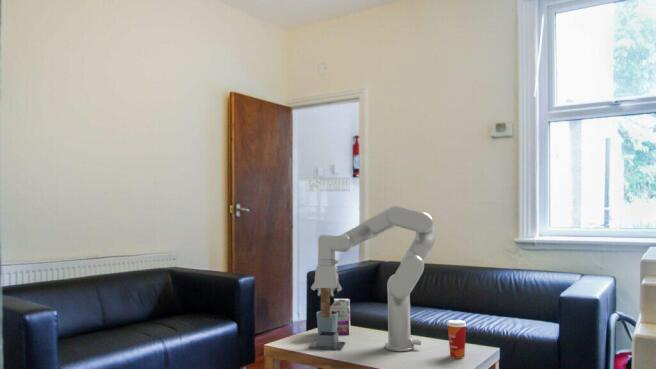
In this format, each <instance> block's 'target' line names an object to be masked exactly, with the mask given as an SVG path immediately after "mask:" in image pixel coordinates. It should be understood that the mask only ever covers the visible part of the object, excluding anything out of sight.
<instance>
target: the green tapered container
mask: <svg viewBox="0 0 656 369" xmlns="http://www.w3.org/2000/svg"><path fill="white" fill-rule="evenodd" d="M337 321H338V312H336V311H332V316H331V317H330V318H324V317H321V310H320V311H319V310H318V311H317V312H316V323H317V324H316V325H317V334H318V333H319V332H320V331H331V332H337V323H338V322H337Z"/></svg>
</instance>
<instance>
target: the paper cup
mask: <svg viewBox="0 0 656 369" xmlns="http://www.w3.org/2000/svg"><path fill="white" fill-rule="evenodd" d="M446 326H447V331H448V334H447V335H448V345H449V346H448V347H449V356H450V358H452V357H454V358H453V359H458V358H460V359H463V358H462V357H464V358H465V355H466V354H465V353H466V352H465V351H466V329H467V328H466V327H467V324H466V321H465V320H461V319H450V320H448V321H447V323H446Z"/></svg>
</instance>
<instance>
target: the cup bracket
mask: <svg viewBox="0 0 656 369" xmlns="http://www.w3.org/2000/svg"><path fill="white" fill-rule="evenodd" d="M344 346H346V341H339V335H338V332H331V331H320V332H319V333H318V332H317V334H316V336H315V340H314V341H313V342H311V343H310V344H309V346H308V349H310V350H326V351H327V350H328V351H342V350H343V348H344Z"/></svg>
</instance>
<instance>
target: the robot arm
mask: <svg viewBox="0 0 656 369" xmlns="http://www.w3.org/2000/svg"><path fill="white" fill-rule="evenodd" d="M396 227H398V228H402V229H405V230H409V231H412V232H415V236H414V238H413V240H412V242H411V244H410V246H409V247H408V249H407V251H406V252H405V254H404V255H403V256H402V258H401V260H400V265H399V266H398V268H397V270H396V271H395V273H394V274H392V275H391V276H389V278H388V279H387V282H386V283H387V290H386V291H387V330H388V332H387V338H388V339H387V340H388V341H387V342H385V344H384V348H385V349H386V350H388V351H392V352H409V351H413V350H414V349H415V345H416V346H422V340H420V339H418V338H417V339H414V338H412V335H411V297H410V296H411V295H410V294H411V292H412V291H413V289H414V288H415V286H416V284H417V283H418V281H419V280H420V278H421V276H422V275H423V272H424V269H425V261H426V260H427V258H428V256H429V254H430V252H431V250H432V249H433V248H434V245H435V241H436V228H435V225H434V220H433V217H432V216H431V215H430V214H429V213H427V212H422V211H418V210H414V209H410V208H407V207H403V206H400V205H392V206H390V207H389V208H387V209H385V210H383V211H382V212H379V213H378V214H375V215H373V216H372V217H369V218H368V219H366V220H364V221H362V222H361V223H360V224H358V225H357V226H355V227H353V228H351V229H349V230H347V231H345V232H344V233H341V234H339V235H333V234H320V235H318V238H317V239H318V240H317V265H316V267H315V273H314V274H315V275H314V282H313V283H312V285H311V287H310V289H311V290H313V291H314V292H315V293H316V294H317V296H318V303H319V306H321V288H330V292H331V296H330V306H332V305H333V303H334V299H335V295H337V294H338V293H339V292H340V291H342V290H343V288H342V286H341V284H340V282H339V271H338V266H337V265H339V260H337V259H336V252H340V253H347V252H349V251H350V250H351V249H352V248H353V247H356V246H357V245H359V244H362V243H363V242H365V241H368V240H371V239H375V238H377V237H379V236H382V234H385V233H387V232H388V231H390V230H393V229H394V228H396ZM336 264H337V265H336Z"/></svg>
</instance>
